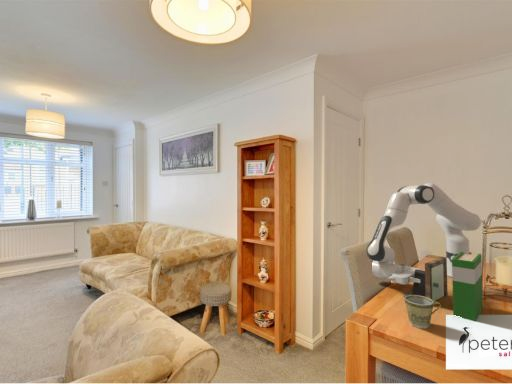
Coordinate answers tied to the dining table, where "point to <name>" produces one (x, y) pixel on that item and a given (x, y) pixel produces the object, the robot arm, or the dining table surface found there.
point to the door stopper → (419, 284)
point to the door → (437, 282)
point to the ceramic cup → (420, 310)
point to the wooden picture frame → (429, 275)
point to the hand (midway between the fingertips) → (424, 279)
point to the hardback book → (467, 285)
